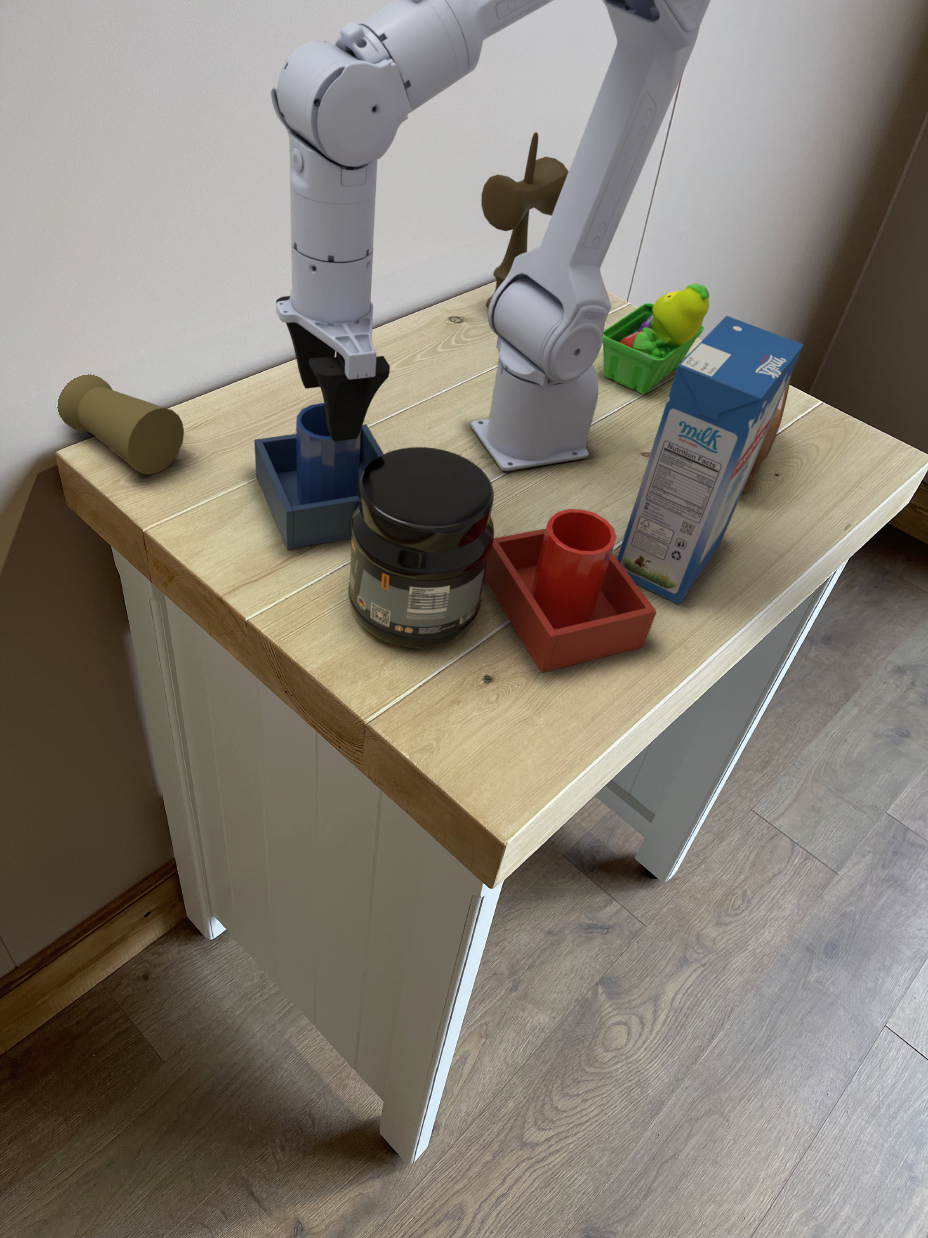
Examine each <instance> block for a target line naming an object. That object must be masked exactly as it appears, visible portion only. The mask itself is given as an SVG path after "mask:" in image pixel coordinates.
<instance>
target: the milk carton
mask: <svg viewBox="0 0 928 1238" xmlns="http://www.w3.org/2000/svg"><path fill="white" fill-rule="evenodd" d="M803 347H804V343H801V342H799V341H795V340H793V339H790V338H788V337H785V336H782V335H780V334H777V333H775V332H772V331H769V330H766V329H765V328H764V329H763V328H761V327H758V326H755V325H753V324H750V323H747V322H745V321H742V320H739V319H737V318H734V317H732V316H729V315H725V316H724V318H723V319H722V320H720V321H719V323H718V324H717V325H716V326H715V327H714V328H713V329H712V330H710V332H709V333H707V335H706V336H705V337H703V339H702V340H701V341H700V342H699V343H698V344H697V345H696V346H695V347H694V348H693V349H692V350H691V351H690V353H688V354H687V355H686V356H685V357H684V359H683V360H682V362H681V363H680V364H679V365H678V367H677V368H676V371H675V375H674V377H673V381H672V385H671V388H670V390H669V394H668V397H667V399H666V403H665V406H664V409H663V413H662V415H661V419H660V422H659V425H658V429H657V432H656V435H655V438H654V440H653V444H652V447H651V450H650V454H649V457H648V460H647V463H646V467H645V470H644V473H643V475H642V479H641V482H640V485H639V489H638V491H637V495H636V498H635V501H634V504H633V508H632V510H631V514H630V517H629V521H628V523H627V527H626V530H625V533H624V535H623V539H622V541H621V542H622V543H621V546H620V548H619V552H618V555H617V557H616V558H617V560H618V561H619V562H620V564H621V565H622V566H623V568H624V569H625V570H626V572H627V573H628V574H629V576H630V577H631V578H632V580H633V581H634V582H635V584H636V585H637V586H638V587H641V588H643V589H645V590H648V591H649V592H651V593H654V594H655V595H658V596H659V597H662V598H663V599H666V600H668V601H670V602H672V603H674V604H676V605H678V606H679V605H681V603H682V601H683V600H684V598H685V597H686V596H687V594H688V593H689V591H690V589H691V588H692V586H694V584H695V582H696V581H697V579H698V578H699V577H700V575H701V574H702V572H703V571H704V569H705V568H706V566H707V565H708V563H709V562H710V560H711V559H712V558H713V556H714V554H715V553H716V552H717V550H718V549H719V547H720V546H721V544H722V541H723V538H724V536H725V534H726V532H727V530H728V527H729V524H730V522H731V520H732V517H733V515H734V513H735V510H736V508H737V506H738V503H739V500H740V498H741V495H742V493H743V489H744V486H745V484H746V481H747V479H748V477H749V474H750V472H751V469H752V467H753V465H754V462H755V460H756V457H757V455H758V453H759V450H760V448H761V445H762V443H763V441H764V438H765V436H766V433H767V431H768V429H769V426H770V424H771V421H772V419H773V417H774V414H775V412H776V409H777V407H778V405H779V402H780V400H781V397H782V395H783V393H784V390H785V388H786V385H787V383H788V381H790V379H791V376H792V373H793V371H794V369H795V366H796V364H797V362H798V360H799V357H800V354H801V352H802V350H803Z"/></svg>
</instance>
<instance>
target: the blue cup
mask: <svg viewBox="0 0 928 1238" xmlns="http://www.w3.org/2000/svg"><path fill="white" fill-rule="evenodd" d="M295 420H296V421H295V430H296V431H295V432H296V433H295V434H296V444H297V497H298V502H299V504H300V505H305V504H311V503H317V502H323V501H329V500H335V499H341V498H347V497H353V496H358V484H359V462H360V440H361V431H360V433H359V436H358V438H357V439H351V440H344V441H337V442H334V441H333V440H332V438H331V436H330V433H329V430H328V426H327V420H326V412H325V404H324V402H319V403H314V404H310V405H308V406H306V407H304V408H302V409H301V410H300V411H299V412H298V413H297V415H296V419H295Z"/></svg>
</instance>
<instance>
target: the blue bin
mask: <svg viewBox="0 0 928 1238" xmlns="http://www.w3.org/2000/svg"><path fill="white" fill-rule="evenodd" d="M253 443H254V460H255V477H256V479H257V481H258V485H259V486H260V489H261V491H262V493H263V496H264V498H265V501H266V503H267V505H268V508H269V510H270V513H271V515H272V517H273V519H274V522H275V524H276V527H277V530H278V531H279V534H280V536H281V539H282V541H283V544H284V546H285V549H286V550H292V549H293V550H294V549H297V548H298V549H299V548H305V547H309V546H315V545H319V544H320V545H321V544H325V543H331V542H337V541H342V540H349V539H351V531H350V519H351V514H352V511H353V508H354V506H355V504H356V503H357V501H358V498H359V484H358V496H353V497H347V498H341V499H335V500H329V501H323V502H317V503H311V504H305V505H300V504H299V502H298V497H297V444H296V433H292V434H285V435H279V436H278V435H276V436H270V437H269V436H268V437H263V438H255V439H254V440H253ZM383 454H384V452H383V450H382V449H381V447H380V445H379V443H378V442H377V440H376V438H375V436H374V435H373V433H372V432H371V430H370V428H369V426H368V424H367V423H366V424H363V425H362V428H361V440H360V462H359V482H360V477H361V474H362V472H363V471H364V469H365V468H366V466H367V465H368V464H369V463H370V462H372V461H373V460H374V459H376V458H377V457H379V456H381V455H383Z"/></svg>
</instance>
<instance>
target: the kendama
mask: <svg viewBox="0 0 928 1238" xmlns="http://www.w3.org/2000/svg"><path fill="white" fill-rule="evenodd" d="M538 146H539V133H538V132H537V131H535V132H534V133H533V135H532V137H531V140H530V145H529V150H528V155H527V159H526V165H525V171H524V176H523V179H522V180H520V181H516V180H514V179H513V178H512V177H510V176H507V175H503V174H494V175H492V176H489V178H488V179H487V180H486V182H485V183H484V184H483V187H482V192H481V195H480V196H481V197H480V199H481V200H480V201H481V205H480V206H481V209H482V214H483V216H484V219H486V221H487V222H488V224H489V225H491V226H492V227H493V228H495V229H496V230H499V231H503V232H509V231H511V234H510V238H509V241H508V245H507V248H506V251H505V254H504V257H503V259H502V261H501V263H500V264H499V265H498V266H497V267H496V268H494V270H493V276H494V278H495V289H494V292H493V294H492V295H491V296H489V298H488V299H487V301H486V303H485V307H486V308H487V310H488V309H489V305H490V302H491V299H492V297H493V295H494V293H495V292H496V290H497V289H498V288H499V286H500V285H501V284H502V283H503V281H504V280H505V279H506V277H507V276H508V274H509V272H510V270H511V267H512V265H513V262H514V259H515V258H516V257H517V256H519V255H521V254H523V253H526V252H528V235H529V220H530V210H533V209H535V210H537V211H538V212H539V213H541V214H543V215H546V216H551V217H552V214H553V211H554V209H555V206H556V204H557V201H558V198H559V196H560V193H561V190H562V188H563V185H564V183H565V180H566V177H567V175H568V172H569V170H568V168H567V167H566V166H565V164H564V163H563V162H562V161H560V160H558V159H557V158H555V157H550V156H544V157H541V158H538V159H537V157H538V156H537V155H538V148H539V147H538Z"/></svg>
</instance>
